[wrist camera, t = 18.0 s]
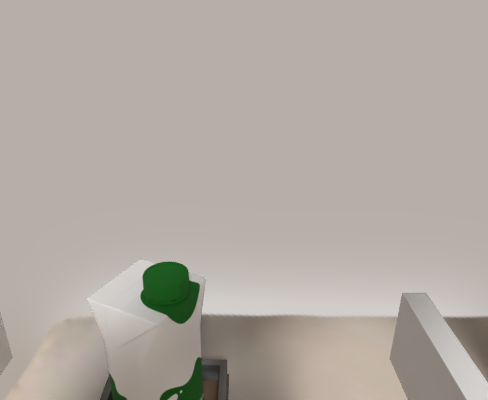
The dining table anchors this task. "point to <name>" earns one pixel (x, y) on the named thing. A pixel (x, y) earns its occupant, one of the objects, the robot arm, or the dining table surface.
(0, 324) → the robot arm
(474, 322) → the dining table surface
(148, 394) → the soya milk
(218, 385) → the dark gray tray
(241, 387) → the dining table surface
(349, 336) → the dining table surface
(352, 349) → the dining table surface
